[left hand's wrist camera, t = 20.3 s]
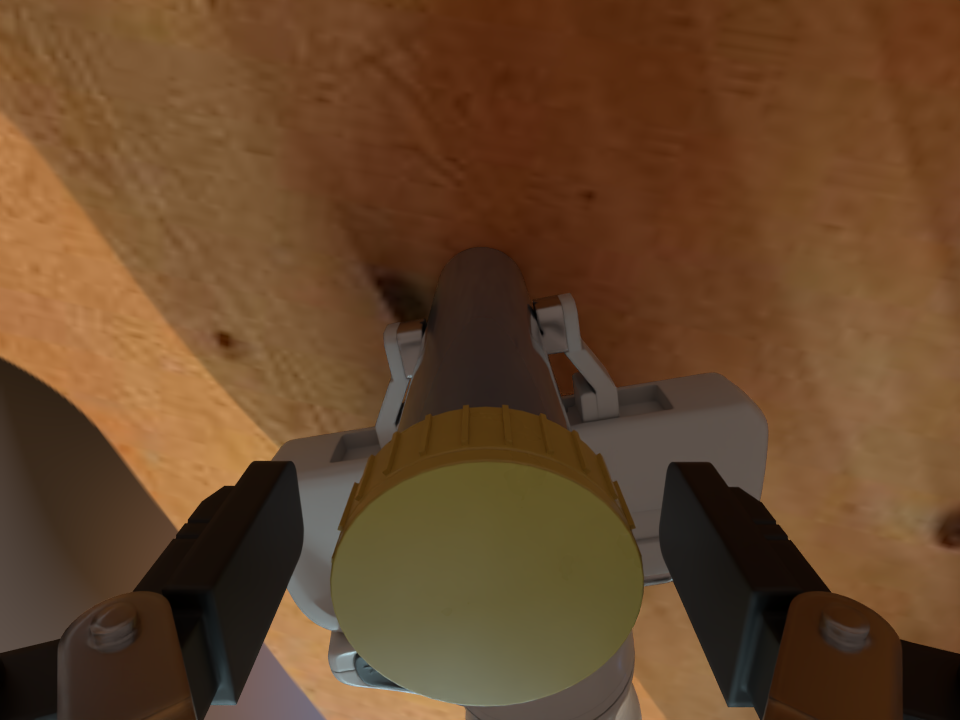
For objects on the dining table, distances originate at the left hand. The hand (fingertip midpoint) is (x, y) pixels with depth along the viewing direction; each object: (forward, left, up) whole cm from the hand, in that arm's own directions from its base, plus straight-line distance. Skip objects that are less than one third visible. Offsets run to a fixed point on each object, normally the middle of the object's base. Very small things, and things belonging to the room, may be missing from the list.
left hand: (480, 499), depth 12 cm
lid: (0, 0, +2) cm, 2 cm away
